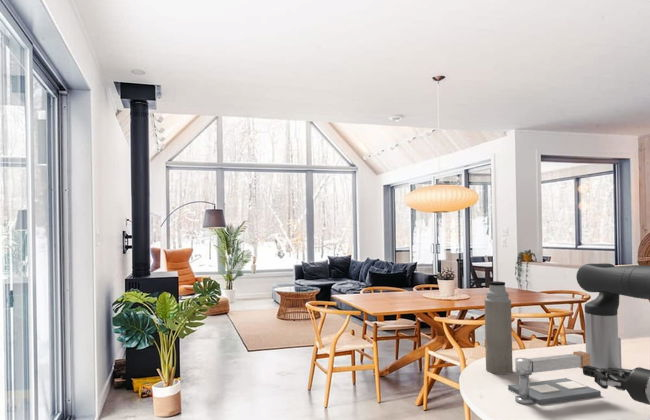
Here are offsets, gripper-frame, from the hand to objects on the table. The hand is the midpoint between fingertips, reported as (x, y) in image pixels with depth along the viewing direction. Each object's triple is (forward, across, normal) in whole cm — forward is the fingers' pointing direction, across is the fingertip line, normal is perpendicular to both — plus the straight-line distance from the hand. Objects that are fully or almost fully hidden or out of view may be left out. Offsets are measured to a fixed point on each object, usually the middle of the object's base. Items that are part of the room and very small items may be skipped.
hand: (584, 369), depth 121 cm
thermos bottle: (+33, -5, +9) cm, 35 cm away
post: (+10, +10, +9) cm, 17 cm away
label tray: (+11, -2, +9) cm, 15 cm away
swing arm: (+9, +1, +2) cm, 9 cm away
